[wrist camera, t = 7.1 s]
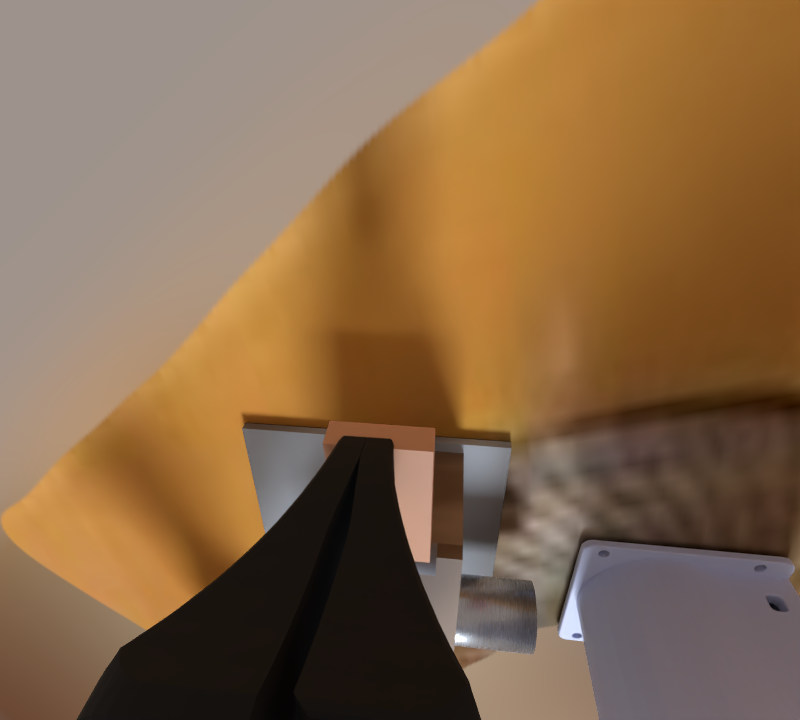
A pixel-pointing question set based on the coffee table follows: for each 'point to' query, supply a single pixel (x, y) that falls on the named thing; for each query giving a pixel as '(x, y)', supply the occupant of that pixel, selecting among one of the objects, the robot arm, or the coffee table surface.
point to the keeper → (404, 479)
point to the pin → (496, 614)
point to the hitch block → (452, 500)
